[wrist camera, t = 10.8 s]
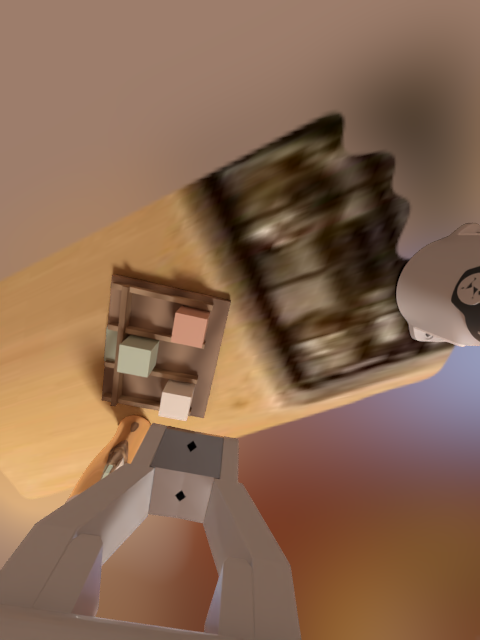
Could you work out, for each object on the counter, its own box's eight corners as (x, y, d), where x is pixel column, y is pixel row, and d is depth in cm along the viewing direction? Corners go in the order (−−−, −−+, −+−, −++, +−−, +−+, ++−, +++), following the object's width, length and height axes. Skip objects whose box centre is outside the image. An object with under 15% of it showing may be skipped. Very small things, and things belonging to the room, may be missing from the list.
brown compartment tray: (230, 300, 38) (230, 305, 35) (204, 413, 44) (202, 426, 41) (116, 274, 37) (105, 276, 34) (105, 395, 43) (95, 406, 40)
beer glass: (111, 416, 44) (52, 498, 30) (147, 409, 44) (105, 488, 30) (124, 446, 46) (74, 535, 32) (159, 439, 46) (124, 527, 32)
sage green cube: (159, 340, 39) (151, 350, 35) (155, 365, 40) (147, 377, 36) (131, 334, 38) (119, 344, 34) (128, 359, 39) (116, 371, 36)
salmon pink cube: (210, 312, 37) (207, 319, 34) (204, 338, 39) (201, 348, 35) (181, 305, 37) (175, 312, 33) (177, 332, 38) (170, 341, 34)
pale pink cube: (195, 383, 41) (191, 397, 37) (190, 405, 42) (186, 421, 38) (169, 378, 41) (162, 392, 37) (165, 400, 42) (158, 416, 38)
